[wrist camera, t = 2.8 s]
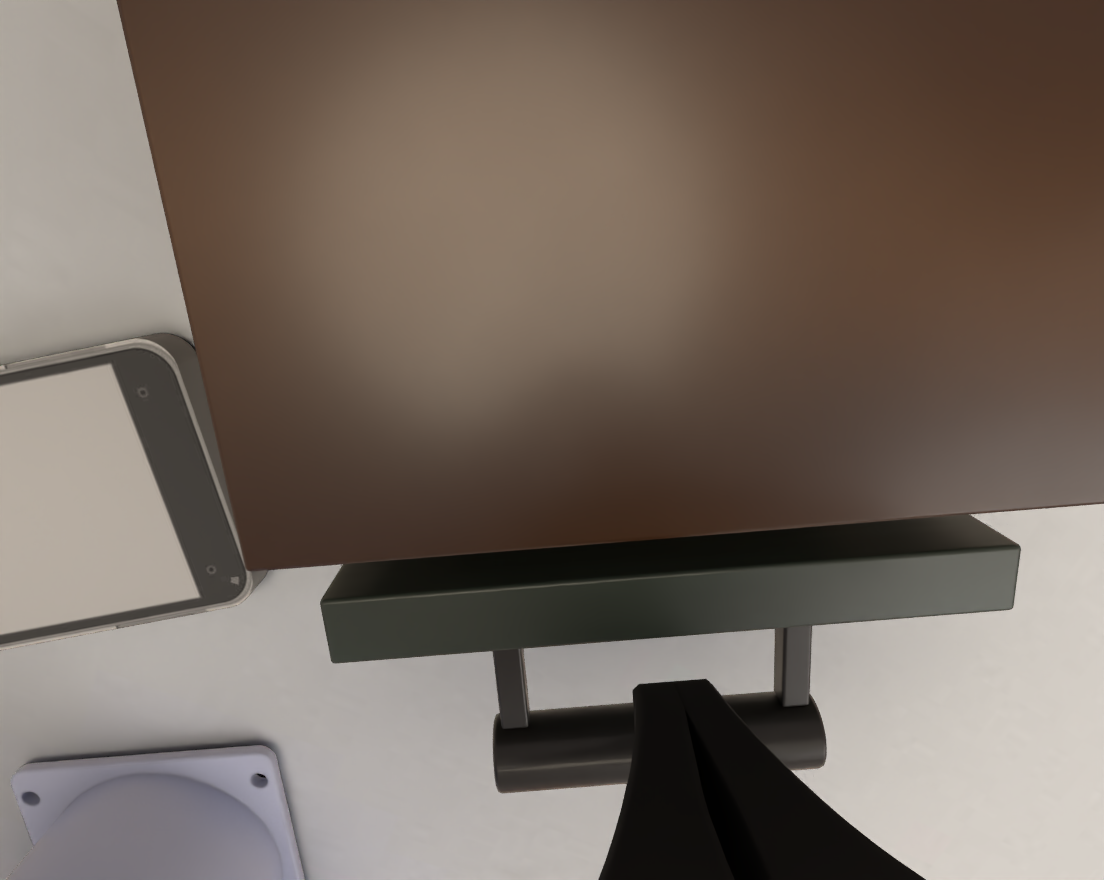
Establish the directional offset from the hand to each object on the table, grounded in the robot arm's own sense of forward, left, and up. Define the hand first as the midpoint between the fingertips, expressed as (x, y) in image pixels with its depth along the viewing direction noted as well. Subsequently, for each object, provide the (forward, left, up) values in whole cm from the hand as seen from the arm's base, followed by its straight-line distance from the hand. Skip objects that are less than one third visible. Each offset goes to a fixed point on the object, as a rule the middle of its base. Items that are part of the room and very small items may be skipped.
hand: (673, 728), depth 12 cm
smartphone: (+3, +18, -7) cm, 19 cm away
